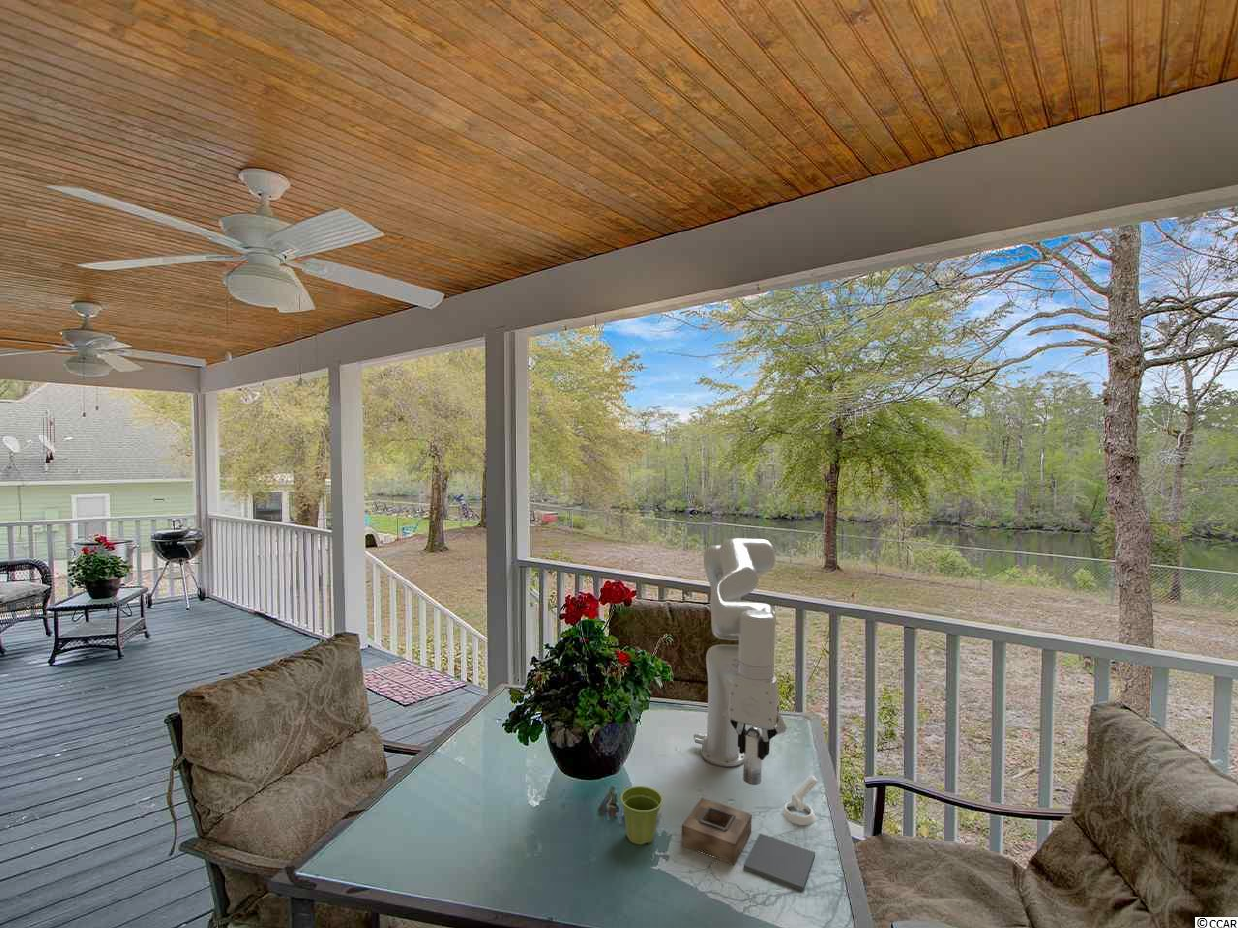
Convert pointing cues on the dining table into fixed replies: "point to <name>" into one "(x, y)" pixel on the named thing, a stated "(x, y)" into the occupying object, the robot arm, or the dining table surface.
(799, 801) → the white ring with handle
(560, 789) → the dining table surface
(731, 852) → the block
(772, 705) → the robot arm
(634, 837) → the plant pot
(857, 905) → the dining table surface
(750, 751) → the steel peg
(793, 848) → the mat
